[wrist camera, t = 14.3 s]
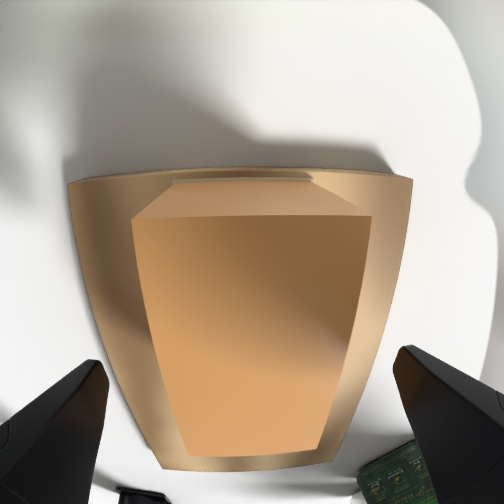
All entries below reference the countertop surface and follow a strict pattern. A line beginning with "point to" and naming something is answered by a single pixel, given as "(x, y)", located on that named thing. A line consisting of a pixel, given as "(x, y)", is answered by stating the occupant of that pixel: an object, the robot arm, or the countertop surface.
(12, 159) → the countertop surface
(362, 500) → the plastic bottle
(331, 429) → the oak board
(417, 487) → the coffee jar
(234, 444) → the block
